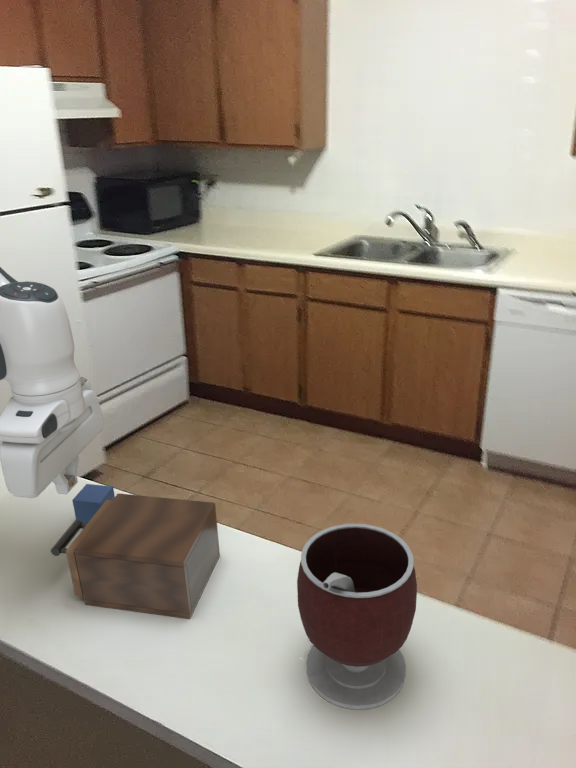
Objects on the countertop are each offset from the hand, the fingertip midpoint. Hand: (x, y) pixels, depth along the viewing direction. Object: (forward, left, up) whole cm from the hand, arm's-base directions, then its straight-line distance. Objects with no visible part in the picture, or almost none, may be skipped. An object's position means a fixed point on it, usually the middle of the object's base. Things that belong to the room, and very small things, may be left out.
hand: (67, 488), depth 96 cm
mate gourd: (+43, -12, -15) cm, 47 cm away
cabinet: (+12, 0, -15) cm, 19 cm away
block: (-4, +13, -15) cm, 20 cm away
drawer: (+7, 0, -14) cm, 15 cm away
